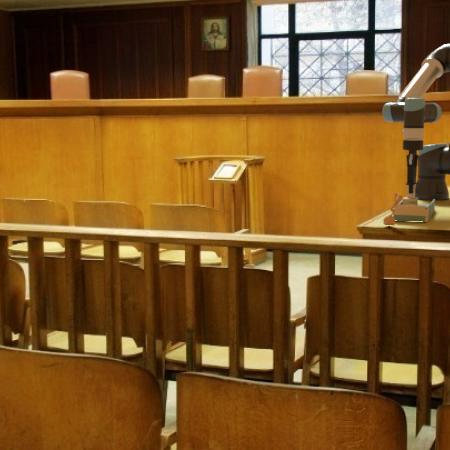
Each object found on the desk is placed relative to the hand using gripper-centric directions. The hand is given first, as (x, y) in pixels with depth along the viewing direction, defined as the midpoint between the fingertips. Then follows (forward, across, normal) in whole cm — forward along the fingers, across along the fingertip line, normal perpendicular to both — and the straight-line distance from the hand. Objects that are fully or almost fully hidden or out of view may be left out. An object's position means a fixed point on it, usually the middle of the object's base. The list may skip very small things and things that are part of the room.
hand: (410, 201), depth 295 cm
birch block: (+1, +3, 0) cm, 3 cm away
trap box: (+4, +9, +3) cm, 10 cm away
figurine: (+4, +36, -2) cm, 36 cm away
